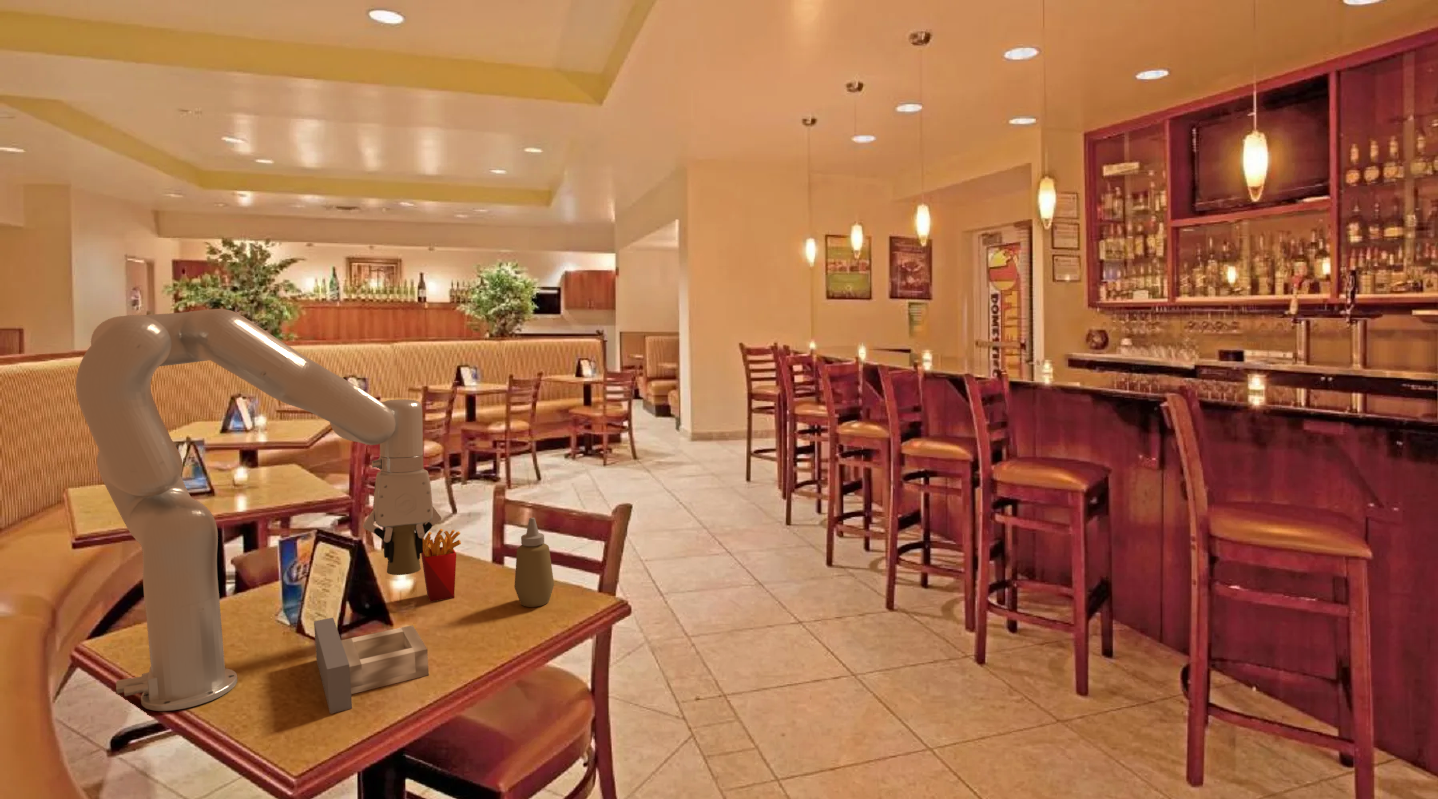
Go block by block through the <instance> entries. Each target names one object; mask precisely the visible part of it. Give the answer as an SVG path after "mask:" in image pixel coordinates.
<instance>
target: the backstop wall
mask: <svg viewBox="0 0 1438 799" xmlns="http://www.w3.org/2000/svg"><path fill="white" fill-rule="evenodd" d="M313 627H314V628H313V629H314V642H315V655H316V656H315V658H316V663H317V667H318V671H319V674H320V679H321V683H322V687H323V692H324V694H325V695H324V696H325V699H326V702H327V703H326V704H327V707H328V711H329V714H330V715H331V714H335V713H339V712H344V711H347V710H351V709H352V708H353V702H352V701H353V700H352V694H351V683H350V667H349V662H348V659H347V656H346V653H345V650H344V647H343V645H342V642H341V640H342V639H341V637H340V634H339V630H338V627H337V625H336V621H335V619H334V617H329V618H324V619H318V620H314V621H313Z"/></svg>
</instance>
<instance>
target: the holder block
mask: <svg viewBox="0 0 1438 799" xmlns="http://www.w3.org/2000/svg"><path fill="white" fill-rule="evenodd" d="M341 642H342V645H343V647H344V650H345V653H346V656H347V659H348V662H349V667H350V683H351V695H353V694H357V693H358V694H359V693H361V692H365V691H369V690H374V689H378V688H382V687H385V686H389V685H394V684H398V683H402V682H406V681H410V680H414V679H418V678H421V677H426V676H429V675H430V674H429V656H428V655H429V654H428V647H427V646H426V644H425V642H424V641H423V639H422V638H421V636H420V634H419V633H418V631H417V630H416V628H415V626H414V625H413V624H412V625H408V626H401V627H398V628H394V629H392V628H391V629H388V630H382V631H378V632H374V633H369V634H364V635H360V636H355V637H350V638H345V639H341Z"/></svg>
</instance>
